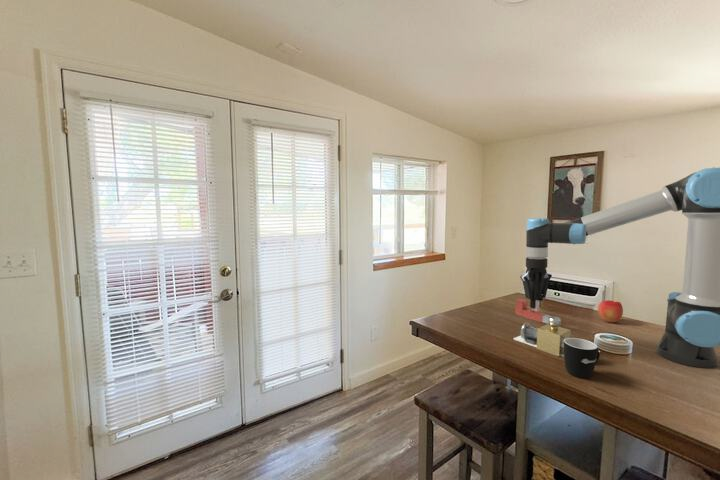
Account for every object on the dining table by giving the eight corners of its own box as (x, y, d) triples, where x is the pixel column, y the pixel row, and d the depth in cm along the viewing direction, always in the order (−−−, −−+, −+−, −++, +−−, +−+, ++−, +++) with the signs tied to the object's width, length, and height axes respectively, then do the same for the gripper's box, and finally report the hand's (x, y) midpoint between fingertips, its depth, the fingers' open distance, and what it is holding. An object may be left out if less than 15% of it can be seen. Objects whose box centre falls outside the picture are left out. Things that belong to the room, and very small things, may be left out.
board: (600, 352, 122) (600, 351, 122) (581, 363, 114) (582, 362, 113) (533, 331, 142) (533, 330, 142) (513, 339, 134) (513, 338, 134)
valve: (590, 357, 117) (592, 332, 116) (580, 364, 113) (582, 337, 112) (529, 337, 136) (530, 315, 135) (518, 342, 131) (519, 319, 130)
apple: (625, 322, 152) (627, 301, 151) (617, 326, 147) (619, 304, 146) (601, 316, 160) (602, 296, 159) (592, 320, 155) (594, 299, 153)
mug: (579, 382, 101) (581, 350, 100) (555, 368, 110) (557, 339, 109) (610, 377, 104) (612, 346, 103) (585, 364, 113) (587, 335, 112)
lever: (562, 325, 123) (563, 309, 122) (556, 327, 121) (557, 311, 120) (520, 312, 137) (521, 298, 137) (514, 314, 135) (515, 299, 135)
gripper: (543, 255, 135) (541, 311, 137) (515, 257, 132) (514, 314, 134) (558, 257, 128) (556, 317, 130) (529, 260, 125) (528, 320, 127)
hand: (535, 315), depth 132 cm, fingers closed
